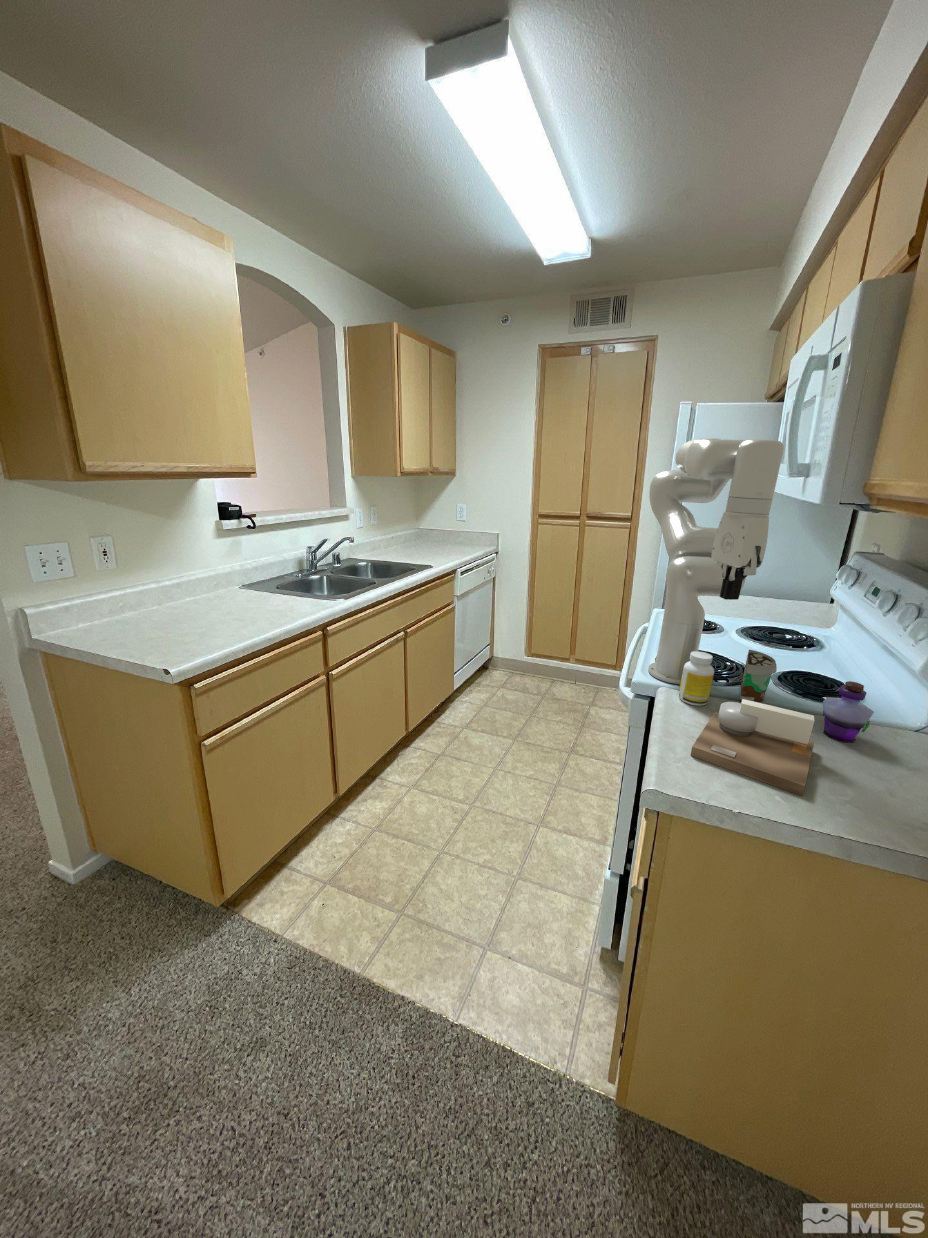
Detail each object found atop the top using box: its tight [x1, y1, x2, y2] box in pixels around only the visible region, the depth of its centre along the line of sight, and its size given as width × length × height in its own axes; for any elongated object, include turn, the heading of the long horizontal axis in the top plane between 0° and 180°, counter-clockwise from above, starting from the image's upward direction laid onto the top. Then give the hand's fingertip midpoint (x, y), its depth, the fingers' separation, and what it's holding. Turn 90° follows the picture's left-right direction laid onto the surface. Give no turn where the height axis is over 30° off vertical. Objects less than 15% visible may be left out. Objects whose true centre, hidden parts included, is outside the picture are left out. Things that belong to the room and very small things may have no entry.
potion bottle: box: [822, 680, 875, 744], centre depth 100 cm, size 9×9×12 cm
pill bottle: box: [678, 650, 715, 707], centre depth 114 cm, size 6×6×12 cm
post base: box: [690, 711, 815, 797], centre depth 94 cm, size 18×18×3 cm
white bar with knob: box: [718, 699, 815, 744], centre depth 96 cm, size 16×7×5 cm, turn 59°
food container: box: [738, 649, 778, 703], centre depth 116 cm, size 12×6×10 cm, turn 150°
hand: (728, 598), depth 100 cm, fingers closed
